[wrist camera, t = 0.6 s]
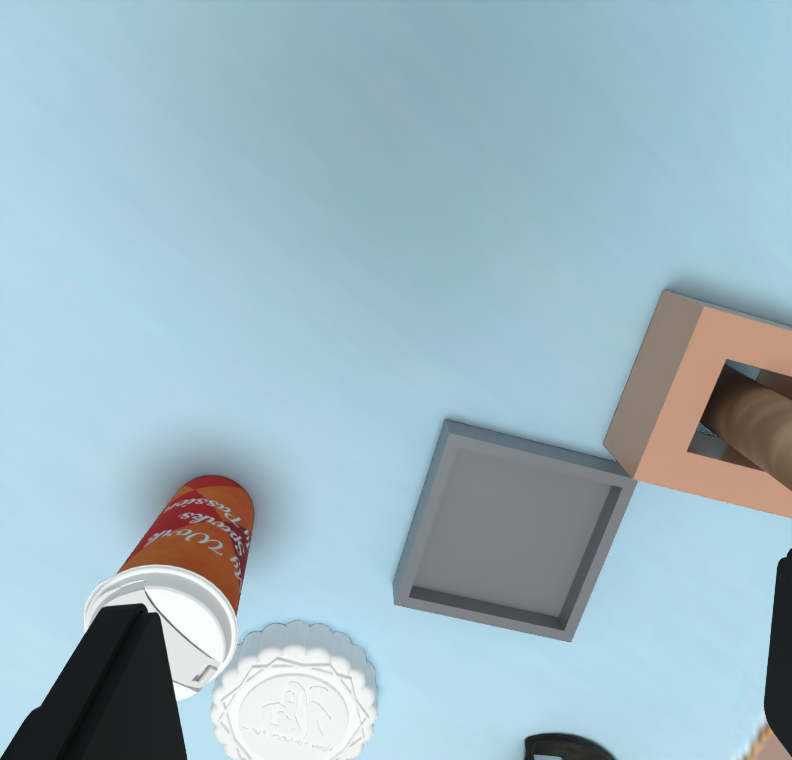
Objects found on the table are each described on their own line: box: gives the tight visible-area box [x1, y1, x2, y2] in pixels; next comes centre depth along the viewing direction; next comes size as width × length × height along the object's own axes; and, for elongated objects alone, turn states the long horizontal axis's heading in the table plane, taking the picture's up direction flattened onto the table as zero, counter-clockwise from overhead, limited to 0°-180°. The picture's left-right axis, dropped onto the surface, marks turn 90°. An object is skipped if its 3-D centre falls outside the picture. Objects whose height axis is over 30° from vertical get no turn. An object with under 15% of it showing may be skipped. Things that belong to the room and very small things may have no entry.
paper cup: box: [83, 475, 254, 701], centre depth 40 cm, size 8×8×14 cm
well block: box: [603, 290, 792, 518], centre depth 43 cm, size 11×11×6 cm
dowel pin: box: [699, 364, 792, 491], centre depth 40 cm, size 4×4×12 cm
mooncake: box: [210, 621, 378, 760], centre depth 50 cm, size 12×12×4 cm
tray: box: [393, 419, 638, 642], centre depth 47 cm, size 13×13×2 cm
